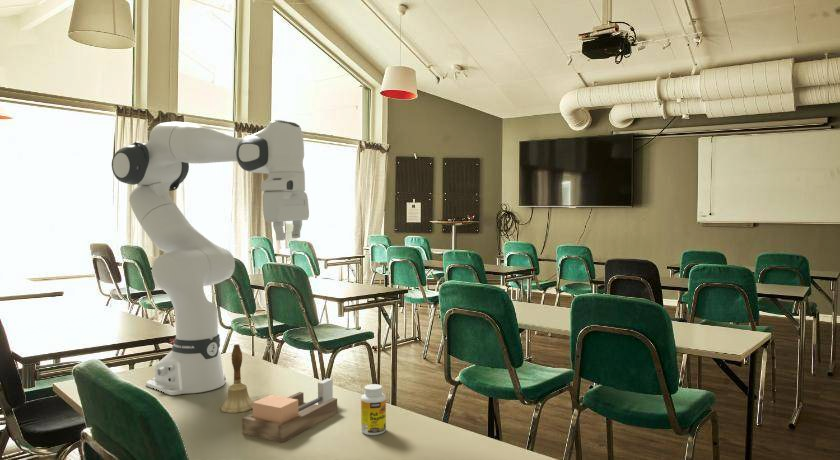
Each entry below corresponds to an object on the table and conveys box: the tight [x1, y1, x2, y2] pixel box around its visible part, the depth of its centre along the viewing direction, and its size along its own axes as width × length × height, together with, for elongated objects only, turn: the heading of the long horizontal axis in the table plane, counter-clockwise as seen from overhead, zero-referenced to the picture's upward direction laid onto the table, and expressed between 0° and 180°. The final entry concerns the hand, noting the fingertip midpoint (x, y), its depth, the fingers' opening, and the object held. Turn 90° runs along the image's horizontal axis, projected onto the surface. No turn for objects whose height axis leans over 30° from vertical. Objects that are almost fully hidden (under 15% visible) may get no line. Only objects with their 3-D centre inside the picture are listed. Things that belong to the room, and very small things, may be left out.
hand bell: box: [220, 343, 254, 414], centre depth 146 cm, size 8×8×16 cm
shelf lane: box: [241, 391, 338, 444], centre depth 136 cm, size 12×20×4 cm, turn 153°
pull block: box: [252, 377, 334, 424], centre depth 139 cm, size 8×24×6 cm, turn 153°
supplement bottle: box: [360, 383, 387, 436], centre depth 130 cm, size 6×6×10 cm
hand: (288, 239), depth 147 cm, fingers open, 8 cm apart
